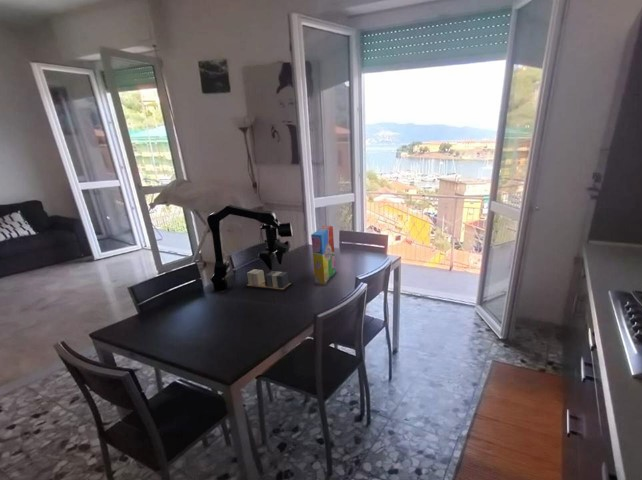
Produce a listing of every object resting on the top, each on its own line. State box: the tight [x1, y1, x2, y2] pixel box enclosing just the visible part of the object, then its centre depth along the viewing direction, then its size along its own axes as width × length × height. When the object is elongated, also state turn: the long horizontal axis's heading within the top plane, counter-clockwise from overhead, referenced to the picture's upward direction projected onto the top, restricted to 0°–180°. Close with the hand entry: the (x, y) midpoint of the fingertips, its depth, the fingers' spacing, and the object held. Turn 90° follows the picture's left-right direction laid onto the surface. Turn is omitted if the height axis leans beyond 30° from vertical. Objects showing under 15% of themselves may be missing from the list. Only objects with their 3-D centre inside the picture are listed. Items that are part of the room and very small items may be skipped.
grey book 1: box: [265, 270, 278, 287], centre depth 187 cm, size 6×3×6 cm, turn 163°
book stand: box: [246, 275, 292, 290], centre depth 188 cm, size 9×22×6 cm, turn 73°
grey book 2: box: [277, 271, 290, 289], centre depth 185 cm, size 6×3×6 cm, turn 163°
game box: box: [310, 225, 337, 286], centre depth 192 cm, size 21×6×27 cm, turn 168°
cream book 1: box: [246, 268, 258, 285], centre depth 190 cm, size 6×3×6 cm, turn 163°
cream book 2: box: [252, 269, 265, 285], centre depth 189 cm, size 6×3×6 cm, turn 163°
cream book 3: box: [271, 271, 283, 288], centre depth 186 cm, size 6×3×6 cm, turn 163°
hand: (275, 267), depth 183 cm, fingers open, 9 cm apart
